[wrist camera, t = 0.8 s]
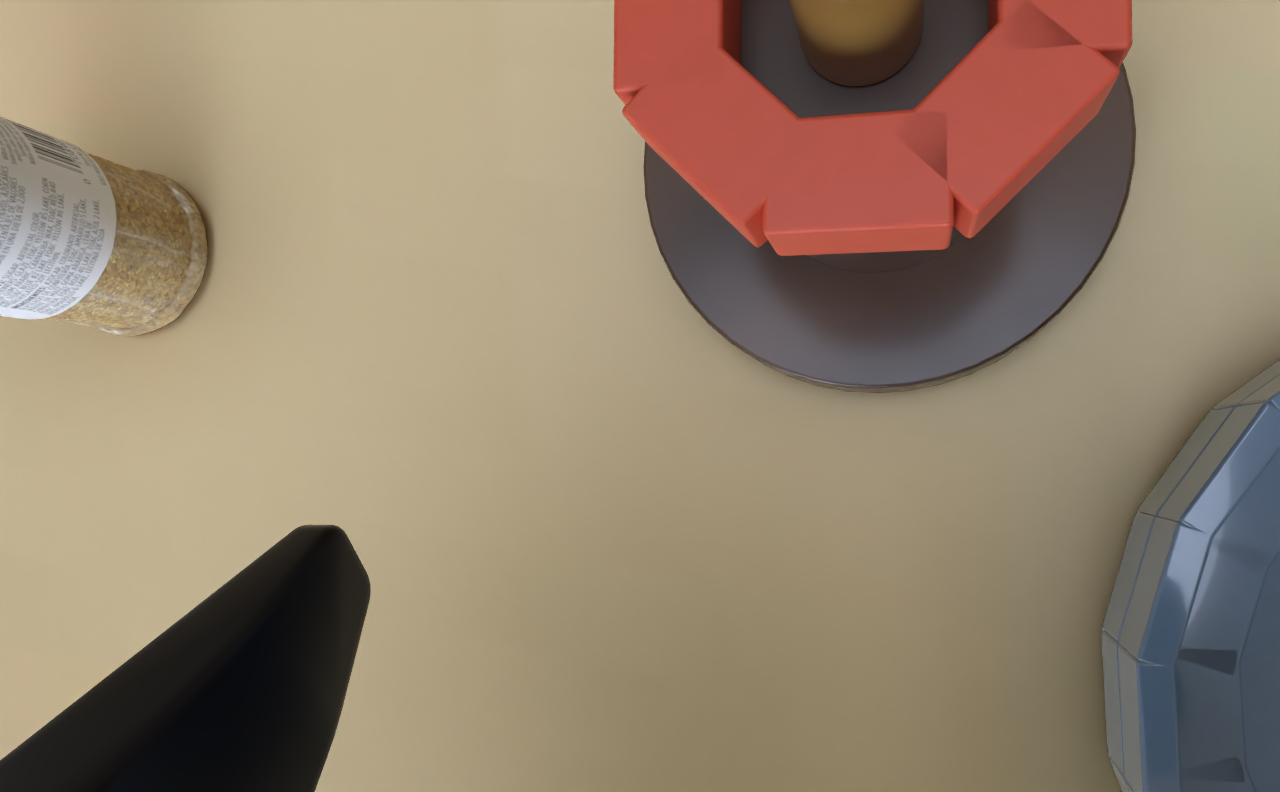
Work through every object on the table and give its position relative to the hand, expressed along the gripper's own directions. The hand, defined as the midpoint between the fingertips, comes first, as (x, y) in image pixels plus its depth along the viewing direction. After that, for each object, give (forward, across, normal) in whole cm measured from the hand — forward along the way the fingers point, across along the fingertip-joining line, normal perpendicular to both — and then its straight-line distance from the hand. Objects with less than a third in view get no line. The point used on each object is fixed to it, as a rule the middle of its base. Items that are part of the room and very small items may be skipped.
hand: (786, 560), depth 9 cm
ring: (+9, -1, -2) cm, 9 cm away
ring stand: (+15, -1, +4) cm, 15 cm away
